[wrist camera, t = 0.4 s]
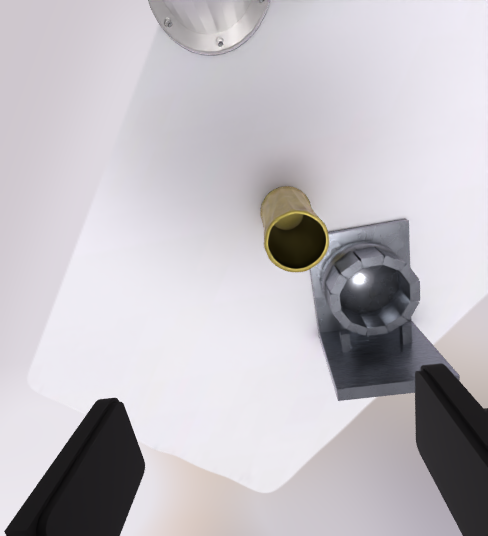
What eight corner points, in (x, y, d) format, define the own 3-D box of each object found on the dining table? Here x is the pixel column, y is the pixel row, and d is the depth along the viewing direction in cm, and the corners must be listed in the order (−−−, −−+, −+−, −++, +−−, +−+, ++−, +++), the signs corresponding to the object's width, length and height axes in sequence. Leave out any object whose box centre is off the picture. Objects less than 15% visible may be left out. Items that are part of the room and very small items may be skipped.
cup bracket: (305, 236, 40) (322, 269, 28) (405, 218, 38) (464, 246, 27) (319, 338, 45) (338, 400, 33) (408, 326, 43) (459, 387, 32)
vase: (264, 182, 38) (265, 198, 24) (315, 190, 38) (343, 210, 24) (257, 231, 40) (253, 271, 27) (305, 239, 40) (325, 282, 26)
